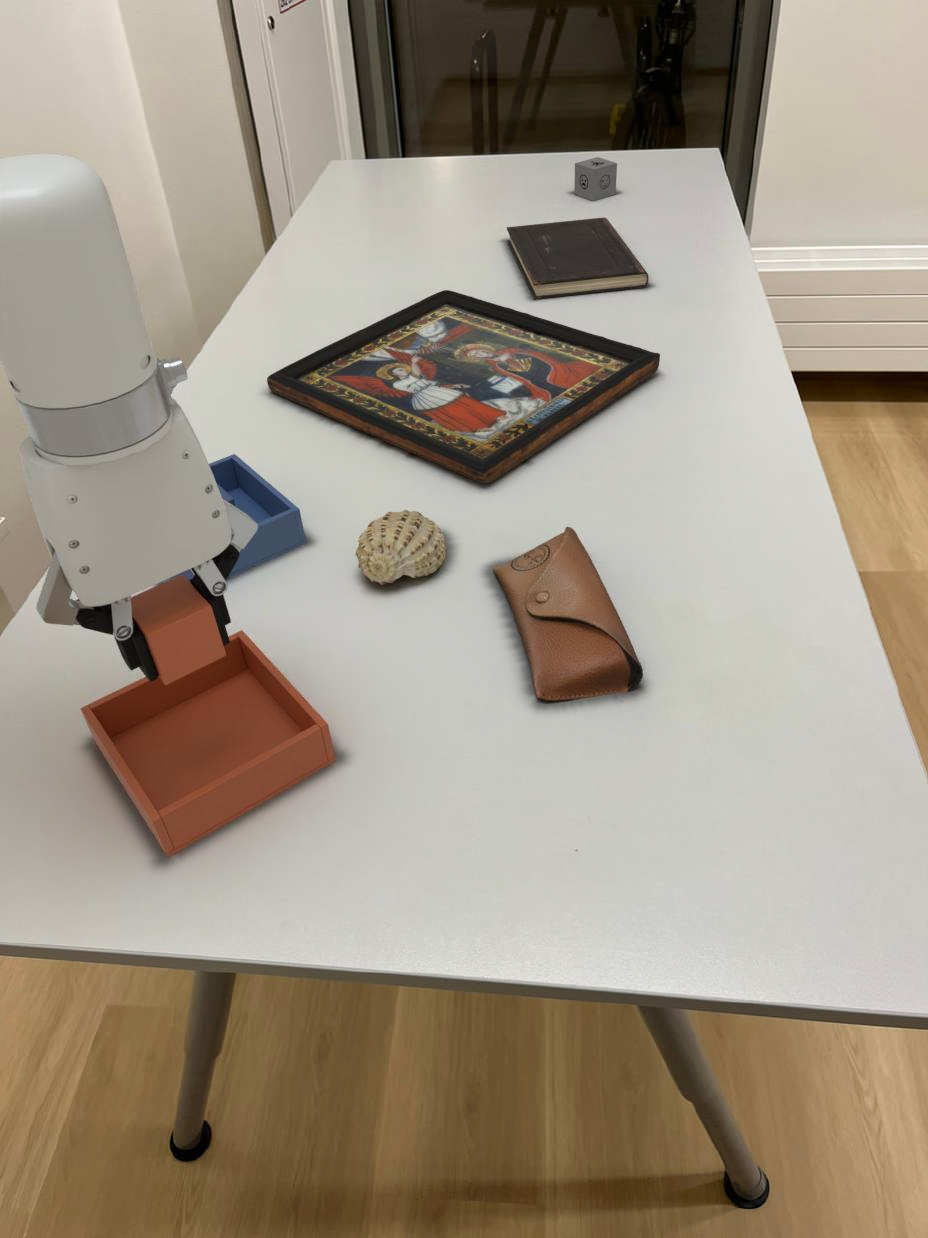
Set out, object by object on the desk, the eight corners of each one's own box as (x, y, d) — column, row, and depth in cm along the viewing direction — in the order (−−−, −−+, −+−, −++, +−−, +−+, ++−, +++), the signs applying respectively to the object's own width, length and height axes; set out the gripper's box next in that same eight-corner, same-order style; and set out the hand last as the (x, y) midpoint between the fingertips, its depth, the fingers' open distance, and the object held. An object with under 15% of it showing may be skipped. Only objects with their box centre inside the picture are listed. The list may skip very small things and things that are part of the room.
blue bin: (178, 602, 84) (166, 566, 82) (121, 536, 93) (109, 502, 90) (306, 543, 90) (299, 508, 88) (242, 486, 98) (234, 453, 96)
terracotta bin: (168, 858, 64) (152, 822, 61) (96, 744, 72) (79, 708, 69) (336, 761, 69) (328, 724, 67) (252, 666, 78) (241, 629, 75)
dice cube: (592, 200, 161) (593, 169, 157) (574, 193, 164) (574, 162, 161) (615, 194, 163) (617, 162, 159) (596, 187, 166) (597, 156, 163)
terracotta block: (165, 686, 62) (146, 635, 59) (139, 651, 64) (119, 601, 62) (226, 655, 64) (211, 605, 61) (198, 623, 66) (182, 573, 63)
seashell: (368, 566, 92) (353, 591, 82) (363, 504, 90) (347, 522, 80) (448, 563, 91) (443, 588, 82) (445, 501, 90) (439, 518, 80)
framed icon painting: (243, 407, 111) (238, 384, 110) (425, 301, 132) (424, 280, 130) (514, 501, 94) (513, 476, 92) (675, 361, 114) (677, 338, 113)
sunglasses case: (485, 564, 85) (521, 505, 82) (550, 584, 88) (587, 528, 85) (537, 705, 72) (583, 641, 68) (612, 723, 75) (659, 662, 71)
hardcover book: (534, 299, 131) (534, 283, 129) (507, 242, 148) (506, 226, 147) (648, 287, 132) (649, 270, 130) (607, 231, 149) (608, 216, 148)
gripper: (207, 338, 58) (266, 574, 70) (-80, 435, 51) (40, 680, 63) (266, 379, 53) (318, 625, 65) (-42, 493, 46) (80, 745, 58)
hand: (181, 649), depth 64 cm, fingers closed on terracotta block, 4 cm apart
